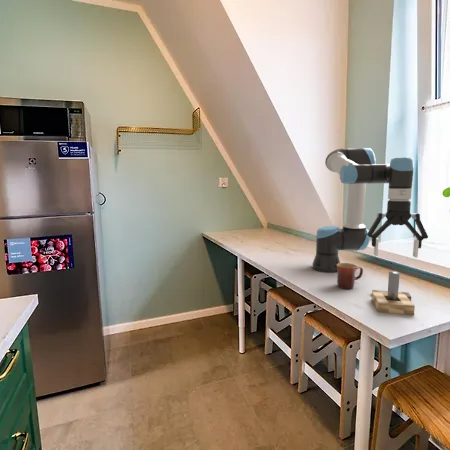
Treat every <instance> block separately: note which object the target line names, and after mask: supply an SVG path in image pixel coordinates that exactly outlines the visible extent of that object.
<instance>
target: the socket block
mask: <svg viewBox="0 0 450 450" xmlns="http://www.w3.org/2000/svg"><path fill="white" fill-rule="evenodd" d="M387 295H388V293H386V292H371V301H372V303H373V305H374V307H375V308H376V310H377V312H378V313H385V314H386V313H388V314H397V315H398V314H399V315H409V316H411V315H412V316H414V315H415V310H416V309H415V305H414V302H412V300H411V301H410V300H409V298H408V297H407V296H406V295H405V294H400V293H398V301H391V300H387Z"/></svg>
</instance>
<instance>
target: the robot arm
mask: <svg viewBox="0 0 450 450" xmlns="http://www.w3.org/2000/svg"><path fill="white" fill-rule="evenodd" d="M414 164H415V163H414V158H413V157H410V156H409V157H406V156H405V157H404V156H402V157H401V156H400V157H392V158H391V159H390V161H389V163H384V164H383V163H380V164H379V163H378V164H377V163H376V155H375V152H374V150H372V148H370V147H369V148H367V147H353V148H352V147H351V148H338V149H335V150H333V151H331V152H330V153H328V154H327V156H326V158H325V167H326V168H327V169H328V171H330V172H332V173H337V174H338V175H339V180H340V182H341V184H344V185H345V184H346V185H348V186H347V202H346V220H345V223H343V225H342V228H340V227H339V226H337V225H328V226H321V227H319V228H318V229H317V230H316V236H315V237H316V239H315V240H316V244H315V246H316V248H315V252H316V253H315V256H314V259H313V261H312V269H313V270H315V271H318V272H322V273H338V270H337V266H336V264H338V263H341V261H340V257H339V251H356V252H357V251H364V250H366V249H367V247H368V246H369V243H370V240H371V246H372V247H373V248H374V249H373V255H374V256H375V257H377V256H379V255H378V254H379V240H380V239H379V238H378V237H380V235H381V234H382V233H383V232H384V231H386V229H387V228H388V227H390V226H391V225H393V226H398V225H399V226H406V228H407V229H408V230H409V231H410V232H411V233H412V235H413V236H414V237H415V238H414V239H413V248H412V256H413V257H414V258H417V259H418V257H419V249H421V248H422V243H423V242H422V241H423V240H425V239H426V240H427V239H428V238H429V235H428V233H427V232H426V229H425V227H424V225H423V222H422V221H421V217H420V216H421V214H420V213H418V212H414V213H411V205H412V201H410V200H412V191H413V189H412V188H413V179H414V171H415V165H414ZM367 184H388V189H387V190H388V191H387V192H388V193H387V199H388V200H387V204H386V205H387V206H386V213H383V212H379V211H378V213H377V214H376V218H375V220H374V222H373V223H372V225H371V227H370V228H369V229H368V228H367V225H365V224H364V218H365V205H366V190H367ZM384 218H386V220H385V222H383V224H382V225H380V227H378V226H379V224H380V223H381V221H382V220H383V219H384ZM411 218H412V219H413V221H414V222H415V225H416V226H417V229H418V230H419V232H418V231H417V230H416V229H415V227H414V226H413V225H412V224H411V223H410V222H409V220H410V219H411ZM377 228H378V229H377ZM376 229H377V230H376Z"/></svg>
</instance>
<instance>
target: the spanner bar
mask: <svg viewBox="0 0 450 450" xmlns="http://www.w3.org/2000/svg"><path fill="white" fill-rule="evenodd" d="M372 292H386V293H388V290H378V289H372ZM372 292H371V293H372ZM398 293H400V294H405V295H406V296H407V297H408V298H409V300H410V301H411V302H412V296H411V294H410V292H408V291H398Z"/></svg>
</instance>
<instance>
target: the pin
mask: <svg viewBox="0 0 450 450" xmlns="http://www.w3.org/2000/svg"><path fill="white" fill-rule="evenodd" d="M400 275H401V273H400V272H399V271H395V270H391V271H390V270H389V271H388V284H387V286H388V287H387V291H388V295H387V300H391V301H398V292H399V288H400Z"/></svg>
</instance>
